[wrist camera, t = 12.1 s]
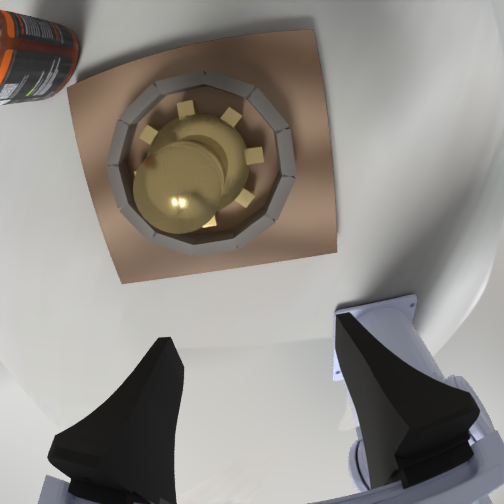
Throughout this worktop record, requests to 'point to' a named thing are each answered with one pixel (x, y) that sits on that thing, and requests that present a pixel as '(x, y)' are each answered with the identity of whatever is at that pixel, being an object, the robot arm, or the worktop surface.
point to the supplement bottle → (34, 58)
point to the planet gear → (193, 170)
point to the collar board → (249, 126)
